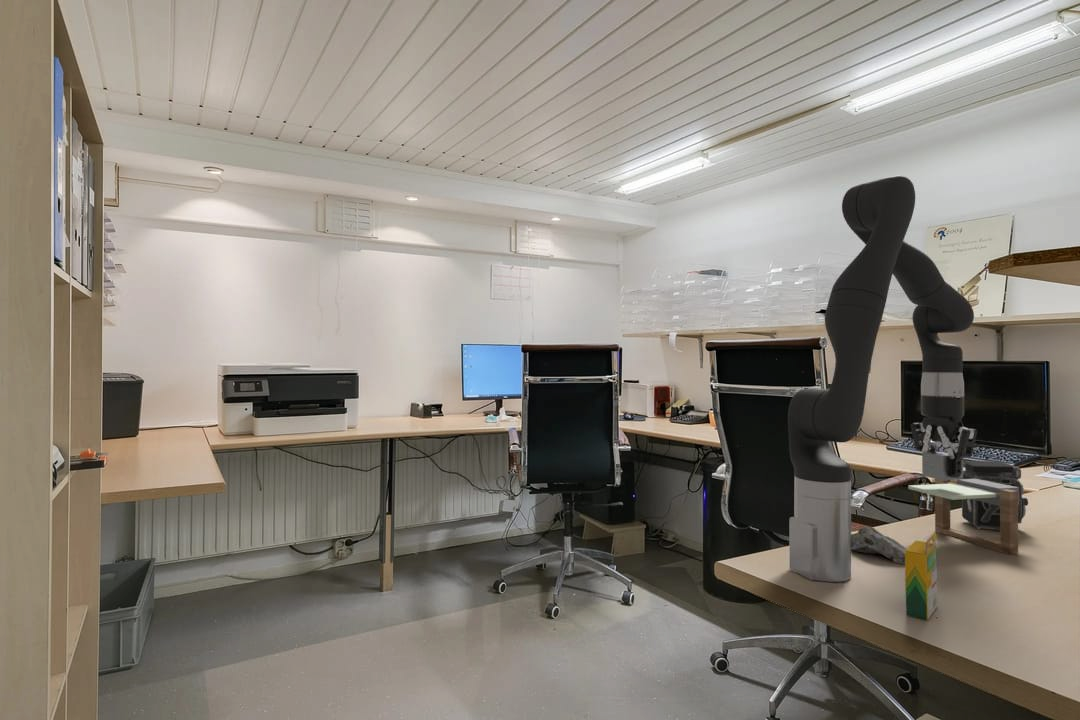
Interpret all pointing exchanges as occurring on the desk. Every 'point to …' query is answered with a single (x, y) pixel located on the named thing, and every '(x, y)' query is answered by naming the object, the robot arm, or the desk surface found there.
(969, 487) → the trapdoor
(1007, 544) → the frame
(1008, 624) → the desk surface
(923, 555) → the crayon box
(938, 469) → the iron cube
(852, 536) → the fossilized seashell
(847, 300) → the robot arm
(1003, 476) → the camera
